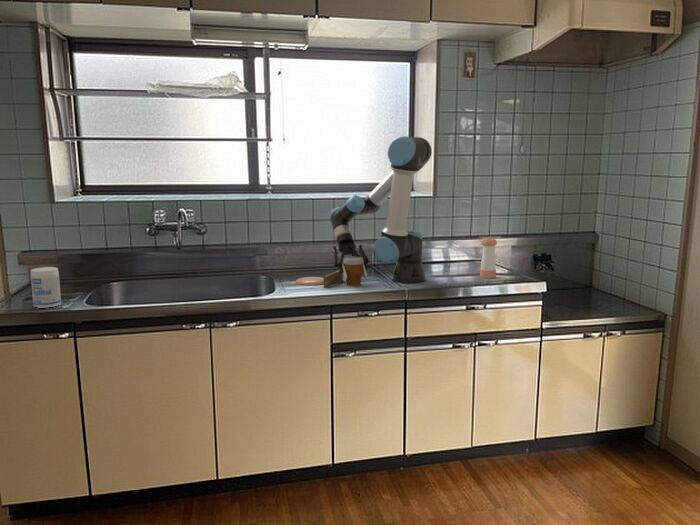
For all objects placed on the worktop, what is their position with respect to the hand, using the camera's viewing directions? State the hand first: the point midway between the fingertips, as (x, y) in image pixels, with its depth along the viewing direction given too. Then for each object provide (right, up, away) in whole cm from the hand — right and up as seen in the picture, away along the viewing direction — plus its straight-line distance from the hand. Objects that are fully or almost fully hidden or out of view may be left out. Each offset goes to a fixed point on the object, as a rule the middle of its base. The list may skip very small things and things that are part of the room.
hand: (355, 278), depth 242 cm
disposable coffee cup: (-1, -3, +4) cm, 5 cm away
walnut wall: (-10, -3, +6) cm, 12 cm away
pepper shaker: (+63, 0, +18) cm, 65 cm away
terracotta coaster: (-20, -2, +10) cm, 23 cm away
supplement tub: (-120, -10, -28) cm, 124 cm away
